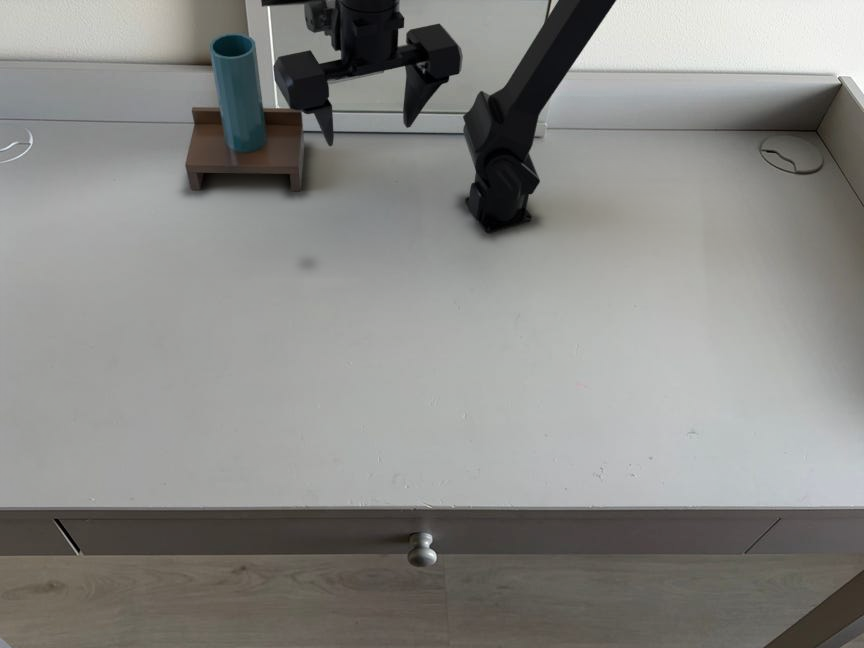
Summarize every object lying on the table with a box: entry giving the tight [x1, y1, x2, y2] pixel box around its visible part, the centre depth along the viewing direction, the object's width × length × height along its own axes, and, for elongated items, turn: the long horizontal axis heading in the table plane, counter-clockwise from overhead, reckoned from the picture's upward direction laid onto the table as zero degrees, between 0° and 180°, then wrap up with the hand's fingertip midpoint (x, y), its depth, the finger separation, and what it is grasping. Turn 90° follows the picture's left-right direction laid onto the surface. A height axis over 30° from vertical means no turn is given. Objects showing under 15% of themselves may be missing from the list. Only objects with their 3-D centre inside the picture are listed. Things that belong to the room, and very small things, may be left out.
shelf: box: [184, 106, 305, 192], centre depth 100 cm, size 14×9×6 cm, turn 90°
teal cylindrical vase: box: [208, 32, 267, 153], centre depth 94 cm, size 5×5×13 cm
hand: (368, 134), depth 86 cm, fingers open, 9 cm apart
